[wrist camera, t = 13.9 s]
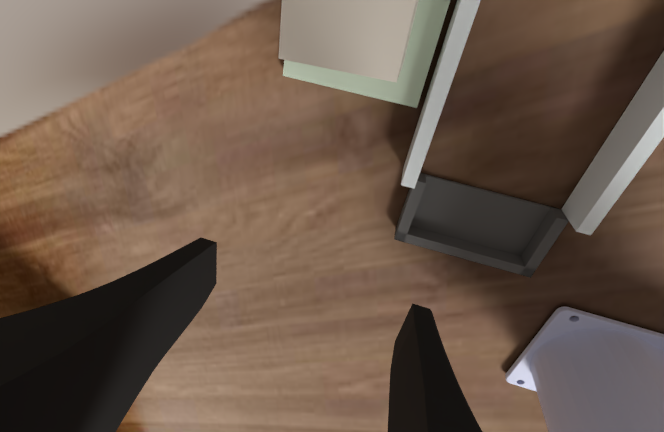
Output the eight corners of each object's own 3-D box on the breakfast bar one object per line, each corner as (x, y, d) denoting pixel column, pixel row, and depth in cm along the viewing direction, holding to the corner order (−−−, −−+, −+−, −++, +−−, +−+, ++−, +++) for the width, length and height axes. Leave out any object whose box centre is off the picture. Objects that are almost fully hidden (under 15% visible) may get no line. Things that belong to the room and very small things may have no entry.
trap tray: (561, 209, 19) (568, 220, 18) (525, 264, 21) (530, 277, 20) (415, 171, 19) (414, 180, 18) (395, 228, 22) (394, 239, 21)
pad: (471, -70, 14) (472, -73, 13) (416, 105, 18) (416, 108, 17) (303, -102, 14) (299, -106, 14) (286, 73, 18) (282, 75, 18)
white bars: (767, -73, 12) (829, -87, 10) (574, 212, 19) (590, 235, 17) (495, -120, 13) (506, -141, 11) (403, 168, 19) (400, 185, 18)
